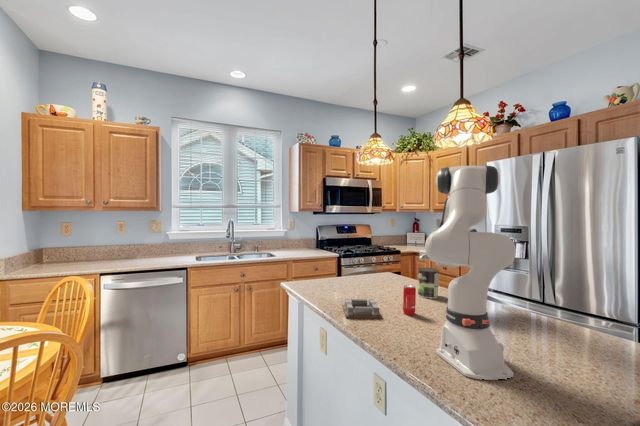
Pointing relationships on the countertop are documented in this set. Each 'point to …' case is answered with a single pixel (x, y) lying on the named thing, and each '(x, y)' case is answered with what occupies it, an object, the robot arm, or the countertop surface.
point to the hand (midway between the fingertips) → (428, 261)
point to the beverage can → (409, 299)
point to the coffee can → (428, 283)
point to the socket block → (361, 309)
